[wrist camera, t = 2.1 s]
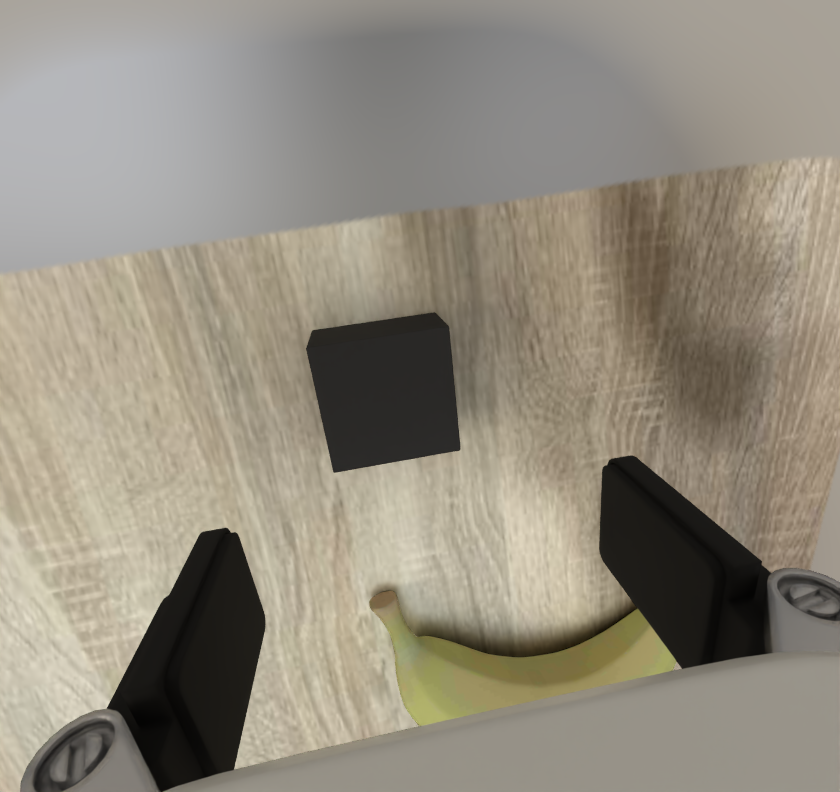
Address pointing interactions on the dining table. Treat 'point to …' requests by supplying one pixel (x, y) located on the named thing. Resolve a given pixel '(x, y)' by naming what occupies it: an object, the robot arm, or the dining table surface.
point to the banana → (511, 667)
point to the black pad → (385, 390)
